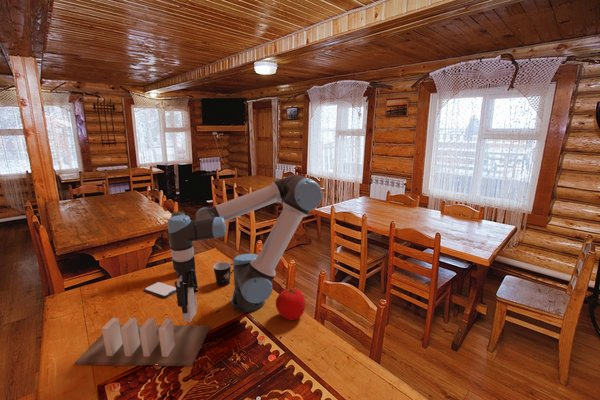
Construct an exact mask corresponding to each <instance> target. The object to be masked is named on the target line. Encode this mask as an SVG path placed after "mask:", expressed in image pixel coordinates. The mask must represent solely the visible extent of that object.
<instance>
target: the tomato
mask: <svg viewBox="0 0 600 400" xmlns="http://www.w3.org/2000/svg"><path fill="white" fill-rule="evenodd" d="M275 306H276V307H275V308H276V310H277V312H278V314H279V315H280V316H282V318H284V319H285V320H286V319H287V320H289V321H294V320H297V319H299V318H301V317H302V316H303V314H304V312H305V309H306V301H305V298H304V295H303V293H302V291H300V290H299V289H298V288H294V287H288V288H286V289H284V290H282V291H281V292H280V293H279V294H278V295H277V298H276V300H275Z"/></svg>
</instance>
